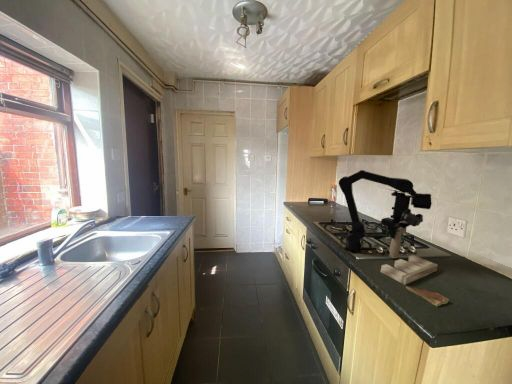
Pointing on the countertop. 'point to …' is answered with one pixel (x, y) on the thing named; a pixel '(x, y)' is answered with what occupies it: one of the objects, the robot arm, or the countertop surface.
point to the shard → (429, 296)
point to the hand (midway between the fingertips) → (396, 237)
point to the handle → (396, 243)
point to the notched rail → (409, 269)
